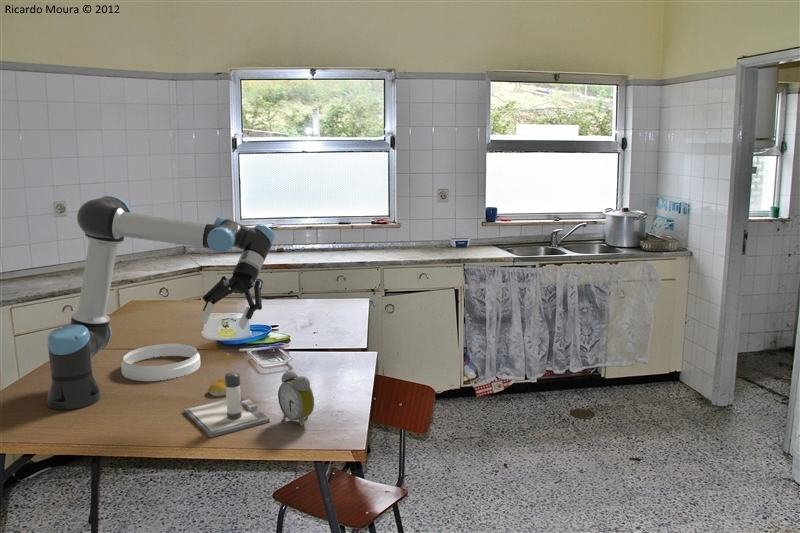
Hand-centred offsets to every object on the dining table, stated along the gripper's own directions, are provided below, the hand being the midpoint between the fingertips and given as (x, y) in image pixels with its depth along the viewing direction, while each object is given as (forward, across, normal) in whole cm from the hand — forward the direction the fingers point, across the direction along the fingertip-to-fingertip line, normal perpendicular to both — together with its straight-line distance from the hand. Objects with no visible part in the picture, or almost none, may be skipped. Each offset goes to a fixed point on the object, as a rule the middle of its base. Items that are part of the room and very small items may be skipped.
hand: (221, 324), depth 200 cm
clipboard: (+23, -5, -14) cm, 28 cm away
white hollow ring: (+4, +41, -35) cm, 55 cm away
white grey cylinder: (+23, -9, -12) cm, 28 cm away
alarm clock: (+20, -28, -17) cm, 38 cm away
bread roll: (+12, +7, -26) cm, 30 cm away
